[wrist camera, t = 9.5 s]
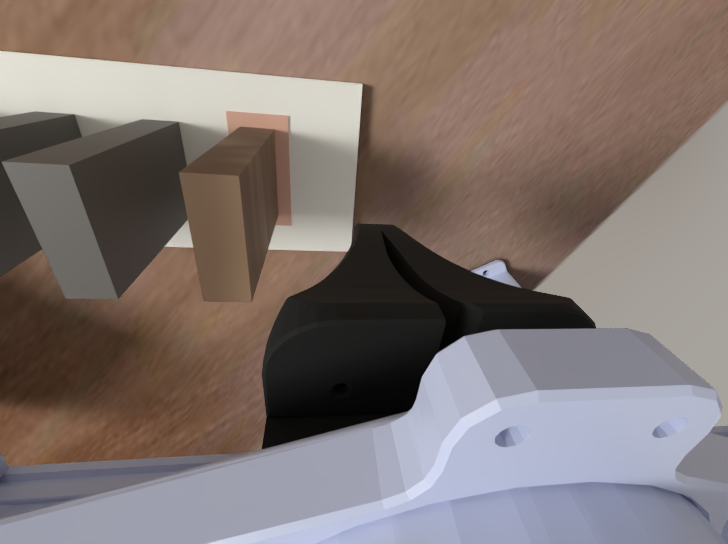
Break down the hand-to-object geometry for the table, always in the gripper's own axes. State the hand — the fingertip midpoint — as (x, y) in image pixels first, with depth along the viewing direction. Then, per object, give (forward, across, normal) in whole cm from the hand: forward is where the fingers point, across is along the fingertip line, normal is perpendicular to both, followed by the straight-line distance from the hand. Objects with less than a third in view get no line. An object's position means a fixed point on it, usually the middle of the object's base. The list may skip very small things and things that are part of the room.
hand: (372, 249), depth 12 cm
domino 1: (+10, +5, 0) cm, 11 cm away
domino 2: (+10, +10, 0) cm, 14 cm away
